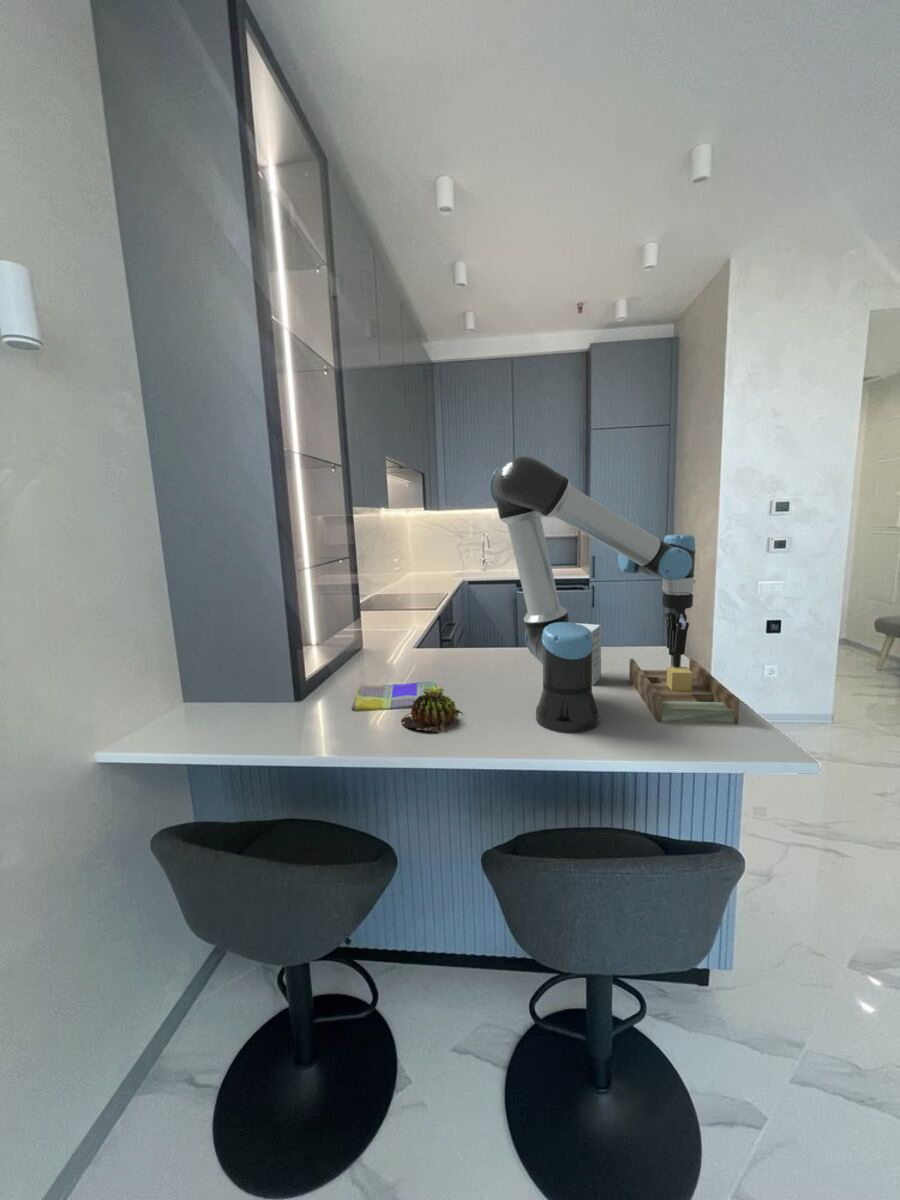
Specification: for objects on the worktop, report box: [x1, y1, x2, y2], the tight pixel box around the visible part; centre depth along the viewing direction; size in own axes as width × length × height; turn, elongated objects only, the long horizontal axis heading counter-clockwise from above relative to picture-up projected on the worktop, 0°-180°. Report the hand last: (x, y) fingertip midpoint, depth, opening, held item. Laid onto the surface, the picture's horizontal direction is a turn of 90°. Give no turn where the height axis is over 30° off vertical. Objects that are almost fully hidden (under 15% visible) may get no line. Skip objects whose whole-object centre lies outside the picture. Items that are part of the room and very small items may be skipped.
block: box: [666, 666, 692, 691], centre depth 135 cm, size 5×5×5 cm
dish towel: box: [351, 681, 439, 712], centre depth 143 cm, size 18×24×3 cm
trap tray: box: [628, 658, 740, 725], centre depth 134 cm, size 33×18×6 cm, turn 172°
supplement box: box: [575, 622, 602, 687], centre depth 152 cm, size 10×9×17 cm
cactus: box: [400, 686, 467, 734], centre depth 126 cm, size 17×16×10 cm
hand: (674, 676), depth 139 cm, fingers closed
